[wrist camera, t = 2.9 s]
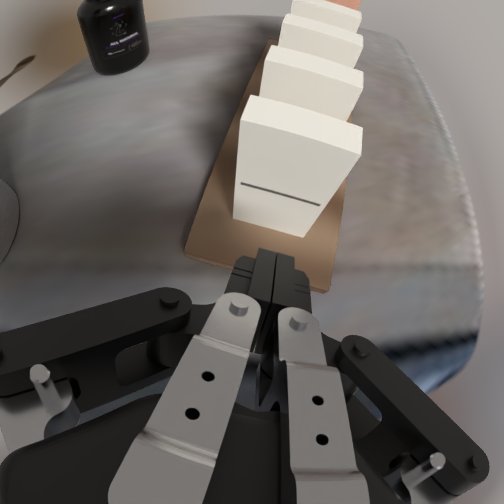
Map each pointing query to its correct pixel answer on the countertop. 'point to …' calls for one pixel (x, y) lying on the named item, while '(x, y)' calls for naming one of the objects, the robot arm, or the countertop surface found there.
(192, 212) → the countertop surface
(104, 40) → the supplement bottle
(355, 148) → the domino
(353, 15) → the domino
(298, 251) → the board
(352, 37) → the domino
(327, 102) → the domino
